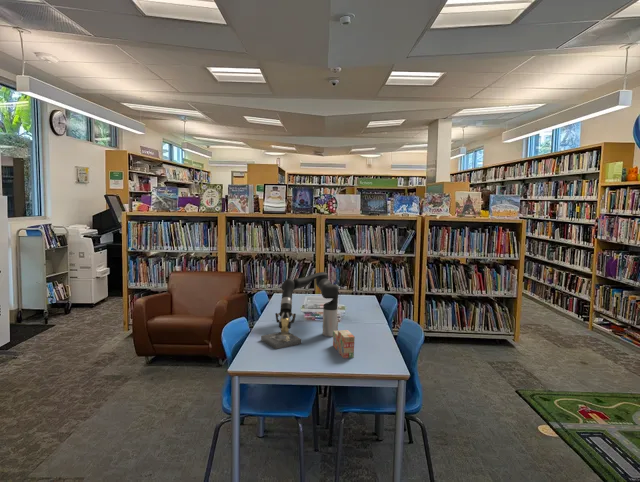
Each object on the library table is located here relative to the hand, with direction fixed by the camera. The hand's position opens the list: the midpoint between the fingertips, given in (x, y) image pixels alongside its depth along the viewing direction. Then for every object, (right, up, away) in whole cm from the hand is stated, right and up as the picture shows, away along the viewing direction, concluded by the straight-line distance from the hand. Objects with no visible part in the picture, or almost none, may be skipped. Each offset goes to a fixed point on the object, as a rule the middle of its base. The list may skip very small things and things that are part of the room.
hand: (284, 327), depth 266 cm
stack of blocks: (+36, -8, -28) cm, 47 cm away
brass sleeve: (0, -4, +2) cm, 5 cm away
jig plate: (-1, -5, -16) cm, 16 cm away
